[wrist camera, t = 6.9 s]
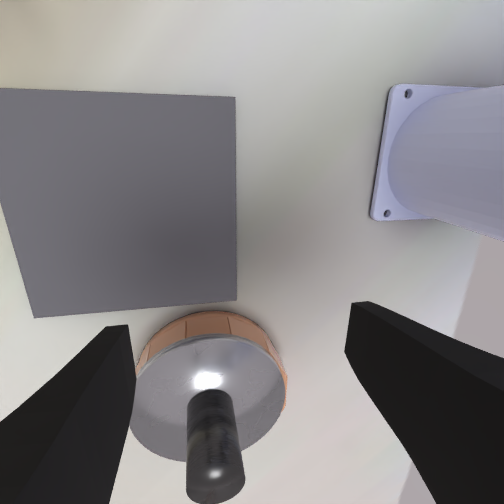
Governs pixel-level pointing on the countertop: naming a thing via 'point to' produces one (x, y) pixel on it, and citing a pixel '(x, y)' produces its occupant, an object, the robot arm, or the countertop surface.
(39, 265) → the mat
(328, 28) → the countertop surface
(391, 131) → the robot arm
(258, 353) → the lid
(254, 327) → the bowl
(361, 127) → the countertop surface
